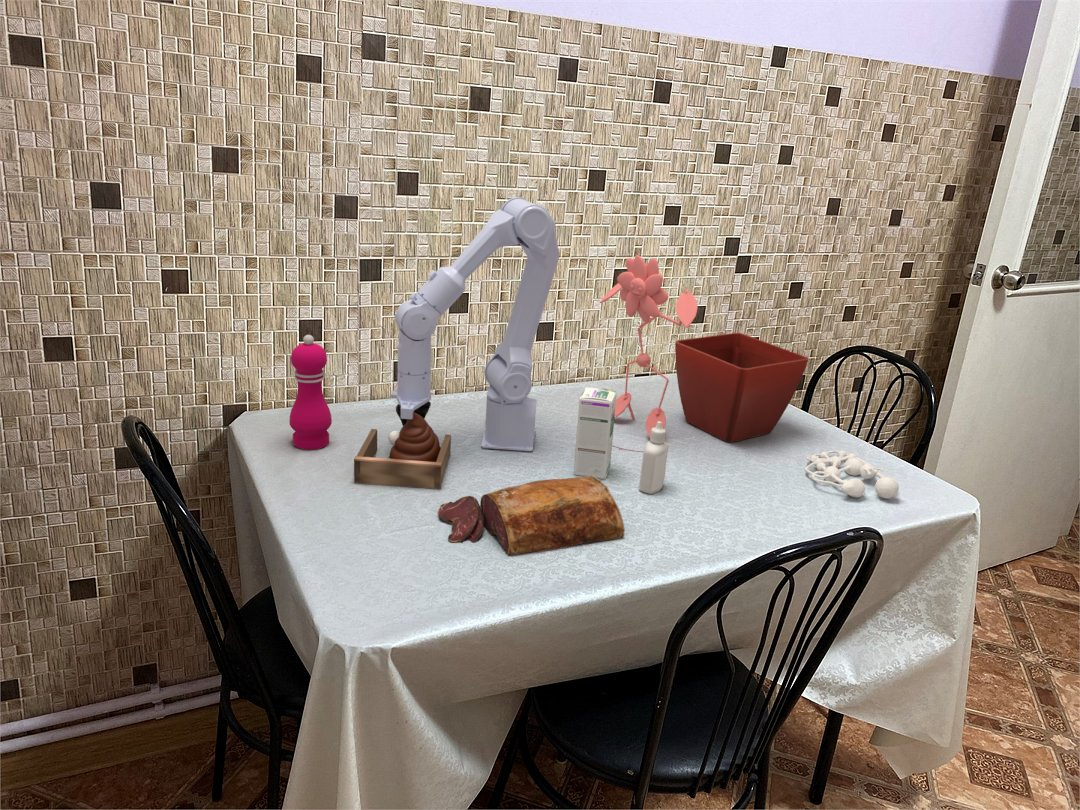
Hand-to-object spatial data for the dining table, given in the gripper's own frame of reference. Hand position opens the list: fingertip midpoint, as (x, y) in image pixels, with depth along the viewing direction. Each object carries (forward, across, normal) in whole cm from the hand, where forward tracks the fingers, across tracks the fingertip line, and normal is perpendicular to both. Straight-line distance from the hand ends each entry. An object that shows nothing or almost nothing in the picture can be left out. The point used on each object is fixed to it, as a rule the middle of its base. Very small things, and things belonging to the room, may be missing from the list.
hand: (412, 442), depth 151 cm
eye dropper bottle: (+1, +9, +42) cm, 43 cm away
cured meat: (+2, +25, +21) cm, 32 cm away
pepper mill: (+1, +1, -18) cm, 18 cm away
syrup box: (+1, +4, +32) cm, 32 cm away
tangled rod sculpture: (+2, 0, +78) cm, 78 cm away
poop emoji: (+1, +5, +1) cm, 6 cm away
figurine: (+1, -15, +39) cm, 42 cm away
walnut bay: (+1, +8, 0) cm, 8 cm away
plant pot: (+2, -22, +61) cm, 65 cm away
